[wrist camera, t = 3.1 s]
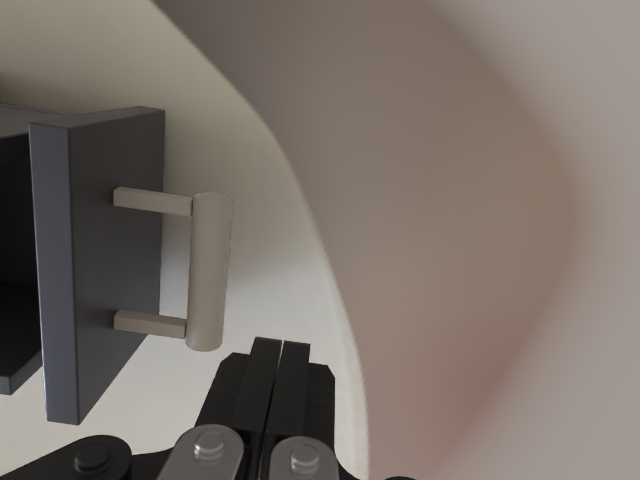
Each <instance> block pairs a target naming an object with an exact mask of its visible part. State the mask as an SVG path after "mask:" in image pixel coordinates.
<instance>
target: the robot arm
mask: <svg viewBox="0 0 640 480" xmlns="http://www.w3.org/2000/svg"><path fill="white" fill-rule="evenodd" d="M281 348H282V340H278V339H270V338H263V337H255V340H254V343H253V346H252V349H251V352H250V355H249V354H242V353H235V352H233V353H232V354H230V355H229V356H228V357H227V358H225V359H224V360H223V361H222V362H221V363H220V365H219V368H218V370H217V372H216V375H215V378H214V380H213V382H212V385H211V388H210V389H209V392H208V394H207V397H206V399H205V402H204V404H203V406H202V409H201V411H200V414H199V416H198V419H197V421H196V423H195V426H194V428H191V429H190V430H188V431H186V432H185V433H183V434H182V435H181V436H180V437H179V439H178V440H177V442H176V444H175V445H174V447H172V448H170V449H167V450H164V451H160V452H155V453H147V454H138V455H132V452H131V449H130V447H129V445H128V444H127V443H126V442H125V441H124V440H122V439H120V438H118V437H115V436H110V435H94V436H89V437H85V438H82V439H79V440H77V441H75V442H73V443H70V444H68V445H66V446H64V447H62V448H60V449H58V450H56V451H53V452H51V453H49V454H47V455H45V456H43V457H41V458H39V459H37V460H34V461H32V462H30V463H28V464H26V465H24V466H22V467H20V468H18V469H15V470H13V471H11V472H9V473H7V474H5V475H3V476H1V477H0V480H259V479H260V480H359V479H357V478H355V477H354V476H352V475H351V474H349V473H348V472H347V471H346V470H345V469H344V468H343V467H342V466H341V464H340V463H339V462H338V460H337V458H336V455H335V450H334V424H335V377H334V375H333V374H332V372H331V370H330V369H329V367H328V365H322V364H315V363H309V354H310V344H307V343H300V342H293V341H286V340H284V344H283V349H282V354H281ZM280 356H281V359H280ZM385 480H415V479H412V478H409V477H402V476H397V477H391V478H387V479H385Z"/></svg>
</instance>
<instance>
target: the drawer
mask: <svg viewBox="0 0 640 480" xmlns="http://www.w3.org/2000/svg"><path fill="white" fill-rule="evenodd" d="M164 136H165V110H164V109H157V108H150V107H143V106H136V107H129V108H122V109H116V110H109V111H102V112H95V113H88V114H82V115H78V114H72V113H65V112H58V111H51V110H44V109H37V108H30V107H23V106H16V105H10V104H3V103H0V394H4V395H12V394H13V393H14V392H15V391H16V390H17V389H18V388H19V387H20V386H22V385H23V384H24V383H25V382H26V381H27V380H28V379H29V378H30V377H31V376H32V375H33V374H34V373H35V372H36V371H37V370H38V369H39V368H40V367H41V366H42V365H43V373H44V389H45V406H46V420H47V421H51V422H58V423H65V424H72V425H80V423H81V422H82V421H83V420H84V418H85V417H86V416H87V414H88V413H89V412H90V410H91V409H92V408H93V406H94V405H95V404H96V402H97V401H98V400H99V398H100V397H101V396H102V394H103V393H104V392H105V390H106V389H107V388H108V387H109V385H110V384H111V383H112V381H113V380H114V379H115V377H116V376H117V375H118V373H119V372H120V371H121V369H122V368H123V367H124V365H125V364H126V363H127V361H128V360H129V359H130V357H131V356H132V355H133V354H134V352H135V351H136V350H137V348H138V347H139V346H140V344H141V343H142V342H143V340H144V339H145V338H146V336H147V335H148V334H151V335H158V336H165V337H172V338H179V339H185V337H186V344H187V346H188V347H189V348H190V349H192V350H195V351H199V352H209V351H213V350H215V349H217V348H219V347H220V345H221V344H222V337H223V325H224V312H225V300H226V288H227V275H228V263H229V250H230V238H231V225H232V213H233V198H232V197H231V196H229V195H226V194H223V193H218V192H201V193H197V194H195V195H194V197H189V196H182V195H175V194H168V193H163V169H164ZM162 213H169V214H175V215H182V216H191V215H192V230H191V249H190V269H189V288H188V307H187V319H183V318H176V317H169V316H162V315H159V302H160V269H161V236H162Z"/></svg>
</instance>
